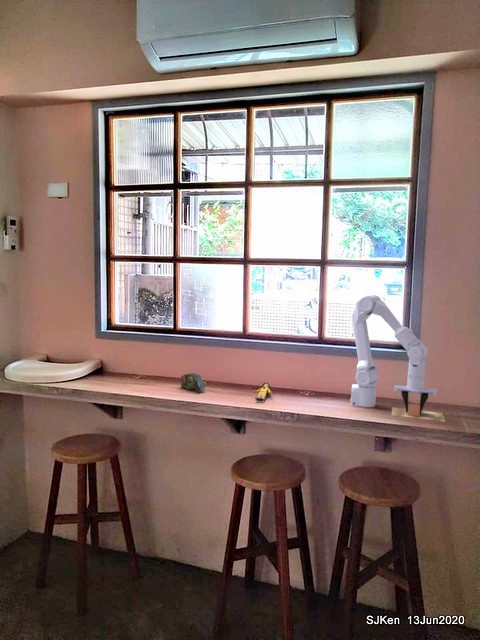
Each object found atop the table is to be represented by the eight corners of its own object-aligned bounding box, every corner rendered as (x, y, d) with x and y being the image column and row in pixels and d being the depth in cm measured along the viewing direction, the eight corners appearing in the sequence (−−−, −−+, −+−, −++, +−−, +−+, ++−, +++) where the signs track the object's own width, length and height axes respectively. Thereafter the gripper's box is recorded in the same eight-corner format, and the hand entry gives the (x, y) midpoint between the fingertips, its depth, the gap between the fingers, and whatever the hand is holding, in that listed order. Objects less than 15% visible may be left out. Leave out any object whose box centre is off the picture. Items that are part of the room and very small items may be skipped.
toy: (250, 395, 187) (257, 380, 201) (250, 405, 188) (258, 389, 202) (269, 397, 185) (275, 382, 199) (269, 407, 187) (275, 391, 200)
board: (391, 418, 171) (391, 414, 171) (392, 410, 182) (392, 407, 181) (445, 424, 165) (445, 421, 165) (442, 416, 176) (442, 412, 176)
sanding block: (407, 414, 172) (408, 404, 171) (407, 410, 177) (408, 400, 177) (419, 416, 170) (420, 405, 170) (418, 411, 176) (419, 401, 176)
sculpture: (209, 392, 200) (209, 376, 200) (196, 394, 196) (196, 377, 196) (192, 386, 211) (192, 370, 210) (180, 387, 207) (180, 372, 206)
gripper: (395, 376, 171) (392, 412, 172) (438, 380, 166) (435, 417, 168) (395, 372, 178) (393, 407, 179) (436, 376, 173) (433, 412, 174)
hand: (413, 412), depth 174 cm, fingers closed on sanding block, 4 cm apart
